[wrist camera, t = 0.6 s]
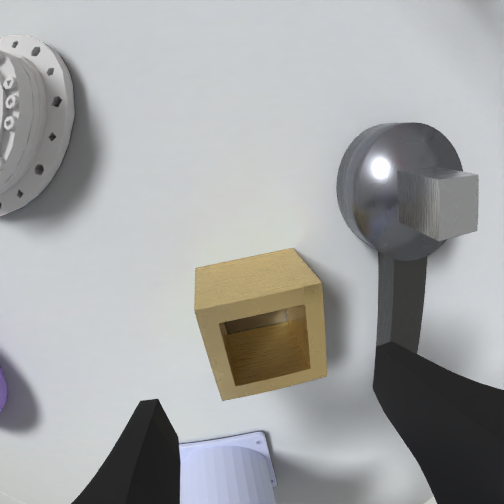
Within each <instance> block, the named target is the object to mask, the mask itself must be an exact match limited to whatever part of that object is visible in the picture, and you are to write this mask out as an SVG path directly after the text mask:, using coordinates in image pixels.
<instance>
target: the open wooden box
mask: <svg viewBox="0 0 504 504" xmlns="http://www.w3.org/2000/svg"><path fill="white" fill-rule="evenodd" d="M282 309H286V312H287V320H288V321H286V322H282V323H278V324H273V325H269V326H264V327H260V328H256V329H251V330H246V331H242V332H237V333H232V334H227V333H226V329H225V324H224V322H227V321H232V320H237V319H242V318H246V317H251V316H255V315H260V314H264V313H269V312H273V311H278V310H282ZM194 311H195V314H196V318H197V321H198V325H199V328H200V332H201V335H202V338H203V342H204V345H205V348H206V352H207V355H208V358H209V361H210V365H211V368H212V371H213V374H214V377H215V380H216V383H217V386H218V389H219V393H220V396H221V399H222V401H224V400H230V399H235V398H240V397H245V396H250V395H254V394H259V393H263V392H268V391H272V390H276V389H280V388H284V387H288V386H292V385H296V384H300V383H304V382H307V381H311V380H315V379H318V378H322V377H325V376H327V361H326V338H325V320H324V305H323V290H322V282H321V281H320V280H319V278H318V277H317V276H316V275H315V274H314V272H313V271H312V270H311V269H310V268H309V267H308V265H307V264H306V263H305V262H304V261H303V260H302V258H301V257H300V256H299V255H298V254H297V252H296V251H295V250H294V249H293V248H290V249H285V250H281V251H276V252H271V253H266V254H261V255H257V256H252V257H247V258H242V259H237V260H233V261H228V262H223V263H218V264H213V265H208V266H204V267H199V268H195V304H194Z"/></svg>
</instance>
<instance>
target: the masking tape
mask: <svg viewBox="0 0 504 504" xmlns="http://www.w3.org/2000/svg"><path fill="white" fill-rule="evenodd" d="M6 400H7V385H6V381H5V378H4V374H3V372H2V370H1V367H0V413H1V411H2V409H3V407H4V405H5V403H6Z"/></svg>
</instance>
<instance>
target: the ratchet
mask: <svg viewBox="0 0 504 504" xmlns="http://www.w3.org/2000/svg"><path fill="white" fill-rule="evenodd" d="M337 198H338V204H339V207H340V211H341V214H342V216H343V218H344V220H345V222H346V224H347V225H348V227H349V228H350V229H351V230H352V232H353V233H354V234H356V235H357V236H358V237H359V238H360V239H362V240H363V241H365V242H366V243H368V244H369V245H371V246H372V247H374V248H375V249H377V250H378V258H379V288H378V323H377V342H376V347H377V346H380V345H382V344H385V343H388V342H391V341H392V342H395V343H397V344H398V345H400V346H402V347H404V348H406V349H408V350H410V351H412V352H414V353H415V354H417V350H418V344H419V337H420V330H421V322H422V313H423V304H424V294H425V282H426V267H427V256H428V255H430V254H431V253H433V252H434V251H436V250H437V249H438V248H439V247H440V246H441V245H443V243H444V242H445V241H446V240H447V239H449V238H453V237H457V236H460V235H464V234H468V233H471V232H475V231H477V224H478V175H477V174H472V173H467V172H463V169H462V165H461V162H460V159H459V157H458V154H457V152H456V150H455V149H454V147H453V145H452V144H451V143H450V141H449V140H448V139H447V138H446V137H445V136H444V135H443V134H442V133H441V132H440V131H438V130H436V129H435V128H433V127H431V126H428V125H426V124H422V123H388V124H380V125H376V126H373V127H371V128H369V129H367V130H365V131H364V132H362V133H361V134H360V135H359V136H358V137H356V138H355V139H354V141H353V142H352V143H351V144H350V145H349V147H348V149H347V150H346V152H345V154H344V156H343V158H342V161H341V164H340V167H339V171H338V176H337ZM374 371H375V369H374ZM373 384H374V380H373Z"/></svg>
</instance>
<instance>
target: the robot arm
mask: <svg viewBox="0 0 504 504" xmlns="http://www.w3.org/2000/svg"><path fill="white" fill-rule="evenodd" d="M373 390H374V392H375V395H376V397H377V399H378V401H379V403H380V405H381V407H382V409H383V411H384V413H385V414H386V416H387V417H388V419H389V420H390V422H391V423H392V425H393V426H394V427H395V429H396V430H397V432H398V433H399V435H400V436H401V438H402V439H403V441H404V442H405V444H406V445H407V447H408V448H409V449H410V451H411V452H412V454H413V455H414V457H415V459H416V460H417V462H418V464H419V465H420V467H421V469H422V471H423V473H424V475H425V477H426V479H427V481H428V484H429V486H430V488H431V490H432V493H433V495H434V497H435V499H436V502H437V504H504V390H501V389H497V388H494V387H491V386H487V385H484V384H481V383H478V382H475V381H473V380H470V379H468V378H465V377H463V376H460V375H458V374H456V373H453V372H451V371H449V370H447V369H445V368H443V367H441V366H439V365H437V364H435V363H433V362H431V361H429V360H427V359H425V358H423V357H421V356H419V355H417V354H415V353H414V352H412V351H410V350H408V349H406V348H404V347H402V346H400V345H398V344H397V343H395V342H392V341H391V342H388V343H385V344H382V345H380V346H377V347H376V357H375V371H374V384H373ZM276 486H277V481H276V477H275V474H274V470H273V466H272V462H271V458H270V454H269V450H268V446H267V442H266V438H265V434H264V433H263V432H254V433H249V434H244V435H239V436H233V437H228V438H222V439H216V440H209V441H202V442H195V443H187V444H179V441H178V436H177V434H176V432H175V430H174V429H173V427H172V425H171V423H170V421H169V419H168V417H167V415H166V413H165V412H164V410H163V408H162V406H161V404H160V402H159V400H158V399H153V400H145V401H140V403H139V404H138V406H137V408H136V409H135V411H134V413H133V415H132V416H131V418H130V420H129V422H128V424H127V425H126V427H125V429H124V431H123V432H122V434H121V436H120V437H119V439H118V441H117V442H116V444H115V446H114V447H113V449H112V451H111V452H110V454H109V456H108V457H107V459H106V460H105V462H104V463H103V464H102V466H101V467H100V469H99V470H98V472H97V473H96V475H95V476H94V477H93V479H92V480H91V481H90V483H89V484H88V485H87V486H86V488H85V489H84V490H83V491H82V493H81V494H80V495H79V496H78V497H77V498H76V499H75V500H74V501H73V502H72V503H71V504H277V502H276V498H275V494H274V491H273V488H274V487H276Z"/></svg>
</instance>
